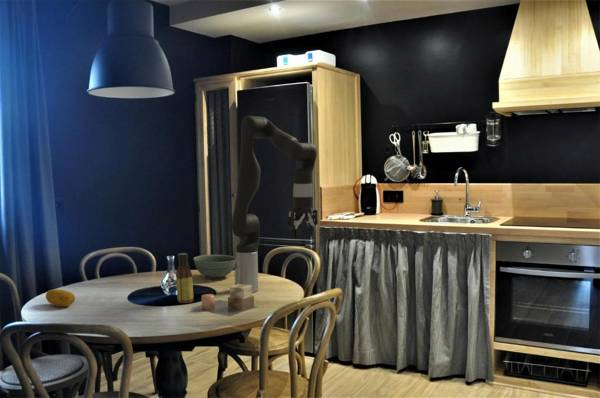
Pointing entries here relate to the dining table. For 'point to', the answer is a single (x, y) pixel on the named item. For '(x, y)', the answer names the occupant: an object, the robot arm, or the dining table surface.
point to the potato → (60, 297)
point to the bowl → (215, 265)
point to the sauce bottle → (184, 280)
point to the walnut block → (241, 303)
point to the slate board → (222, 308)
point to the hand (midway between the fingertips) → (302, 237)
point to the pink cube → (208, 302)
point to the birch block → (240, 291)
